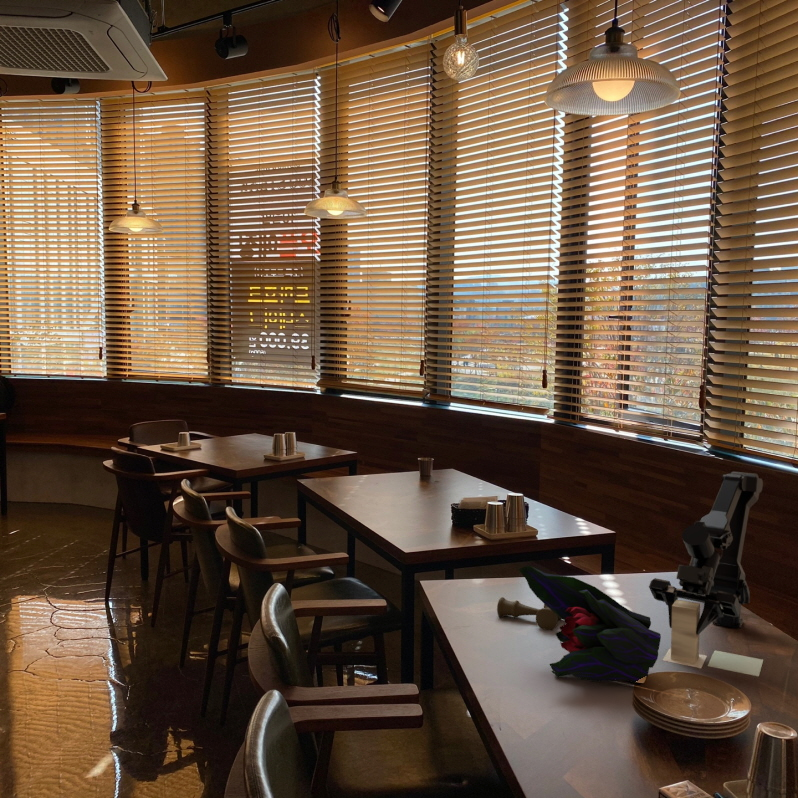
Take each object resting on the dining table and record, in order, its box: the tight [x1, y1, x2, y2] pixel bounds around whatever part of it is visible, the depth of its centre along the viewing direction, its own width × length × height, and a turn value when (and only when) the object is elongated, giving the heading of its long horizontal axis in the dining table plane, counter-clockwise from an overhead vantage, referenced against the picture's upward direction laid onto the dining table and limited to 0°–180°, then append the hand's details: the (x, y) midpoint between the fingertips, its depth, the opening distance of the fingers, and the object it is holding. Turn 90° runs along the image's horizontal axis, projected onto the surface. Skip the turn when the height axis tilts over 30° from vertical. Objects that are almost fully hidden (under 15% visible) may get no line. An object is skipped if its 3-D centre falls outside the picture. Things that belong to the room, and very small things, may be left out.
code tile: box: [662, 647, 708, 669], centre depth 166 cm, size 8×8×1 cm
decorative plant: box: [518, 565, 662, 684], centre depth 158 cm, size 21×26×30 cm
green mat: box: [707, 650, 764, 677], centre depth 163 cm, size 10×10×1 cm
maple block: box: [670, 599, 701, 664], centre depth 165 cm, size 5×5×12 cm
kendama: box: [496, 596, 563, 631], centre depth 188 cm, size 6×10×20 cm
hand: (683, 630), depth 164 cm, fingers closed on maple block, 5 cm apart
